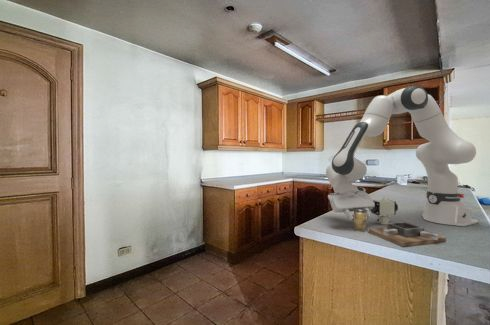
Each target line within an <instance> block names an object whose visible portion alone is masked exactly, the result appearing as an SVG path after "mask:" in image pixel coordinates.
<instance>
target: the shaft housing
mask: <svg viewBox="0 0 490 325" xmlns="http://www.w3.org/2000/svg"><path fill="white" fill-rule="evenodd" d="M368 233H369V234H371V235H373V236H375V237H378V238H381V239H384V240H385V241H388V242H390V243H392V244H395V245H397V246H400V247H403V248H406V247H407V248H408V247H413V246H415V247H416V246H422V245H423V246H424V245H430V244H439V243H446V242H447V237H445V236H442V235H439V233H435V232H429V231H426V230H425V227H424V226H423V227H422V226H419V225H416V224H413V223H409V222H406V221H399V222H398V221H397V222H389V223H387V224H386V226H383V227H373V228H368Z"/></svg>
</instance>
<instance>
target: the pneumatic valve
mask: <svg viewBox="0 0 490 325" xmlns="http://www.w3.org/2000/svg"><path fill="white" fill-rule="evenodd" d="M372 200H373V202H374V203H375V207H374V208H373V209H372V210H369V212H371V214H373V215H376V223H377V224H380V225H383V226H384V225H387V223H391V221H390V220H391V219H390V217H389V216H392V215H394V216H395V215H396V214H397V211H398V210H399V205H398V204H397V202H396V201H395V200H391V199H385V198H381V199H372Z"/></svg>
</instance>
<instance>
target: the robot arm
mask: <svg viewBox="0 0 490 325" xmlns="http://www.w3.org/2000/svg"><path fill="white" fill-rule="evenodd" d="M405 113H408V114H410V116H411V118H412V122H413V123H414V125H415V128H416V130H417V132H418V135H419V136H420V137H421V138H423V139H426V140H427V141H429V142H426V143H422V144H420V145H418V147H417V148H416V150H415V156H416V159H417V160H418V161H419V162H421V164H423V167H424V168H425V171H426V174H427V175H426V176H427V190H426V195H425V196H426V197H425V198H426V200H425V201H424V207H423V213H422V214H421V217H422V219H423V220H425V221H428V222H431V223H437V224H439V225H440V224H441V225H449V226H450V225H451V226H457V227H466V226H470V225H475V224H479V220H477V219H476V218H472V210H471V209H470V208H469V207H468V206H467V205H465V204H464V203H463V202H462V201H461V199H464V198H465V194H464V193H459V192H458V189H459V188H458V187H459V186H458V185H459V177H458V176H457V175H456V173H454V172H452V171H451V170H450V168H449V166H448V165H461V164H467V163H470V162H472V161H473V160H474V159H475V158H476V155H477V149H476V147H475V145H474V144H473V143H472V142H470V141H468V140H465V139H463V138H462V137H461V136H460V135H458V134H457V133H455V132H454V130H452V128H450V126H449V124H448V122H447V120H446V119H445V117H444V114H443V112H442V110H441V108H440V107H439V104H438V103H437V101H436V100H435V99H434V97H433V95H431V94H428V92H427V91H426V89H425V88H423V87H422V86H420V85H409V86H407V87H403V88H399V89H397V90H395V91H394V92H392V93H389V94H386V95H383V94H382V95H376V96H375V97H373V99H372V100H371V101H370V102H369V104H368V106H367V107H366V109H365V111H364V113H363V115H362V118H361V120H360V121H359V122H358V123H356V124H355V125H354V126H353V128H352V129H351V131H350V132H349V133H348V136H347V137H346V140H345V141H344V143H343V145H342V146H341V147H340V149H339V150H338V152H337V153H336V154H335V155H334V156H333V157H332V161H331V163H330V164H329V165H328V166H327V168H326V170H325V175H326V178H327V180H328V183H329V184H330V186H331V188H332V189H333V191H334V192H333V193H329V194H328V195H327V198H328V200H329V203H330V206H331V209H332V211H333V212H334V213H343V214H344V215H345V216H346V217H347V218H349V221H354V219H355V217H354V214H352V212H354V208H363V209H366V220H369V219H370V218H371V214H370V210H372V209H373V208H374V207H375V203H374V202H373V200H374V199H372V197H371V196H370V194H369V193H367V192H366V188H364V187H362V186H359V185H355V184H354V183H355V182H357V181H359V180H361V179H363V178H364V177H365V176H366V174H367V171H368V170H367V166H366V164H365V163H364V162H362V161H361V160H360V159H357V158H356V157H355V154H356V151H357V149H358V148H359V147H360V145H361V142H362V141H363V140H364V139H365V138H374V137H378V136H380V135H381V134H383V133H384V131H385V130H386V128H387V126H388V124H389V123H390V119H391V116H394V115H400V114H405Z"/></svg>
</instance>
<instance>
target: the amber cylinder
mask: <svg viewBox="0 0 490 325" xmlns="http://www.w3.org/2000/svg"><path fill="white" fill-rule="evenodd" d="M353 215H354V217H355V219H354V220H353V230H354V231H357V232H365V231H366V220H367V219H366V209H363V208H354V211H353Z"/></svg>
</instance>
